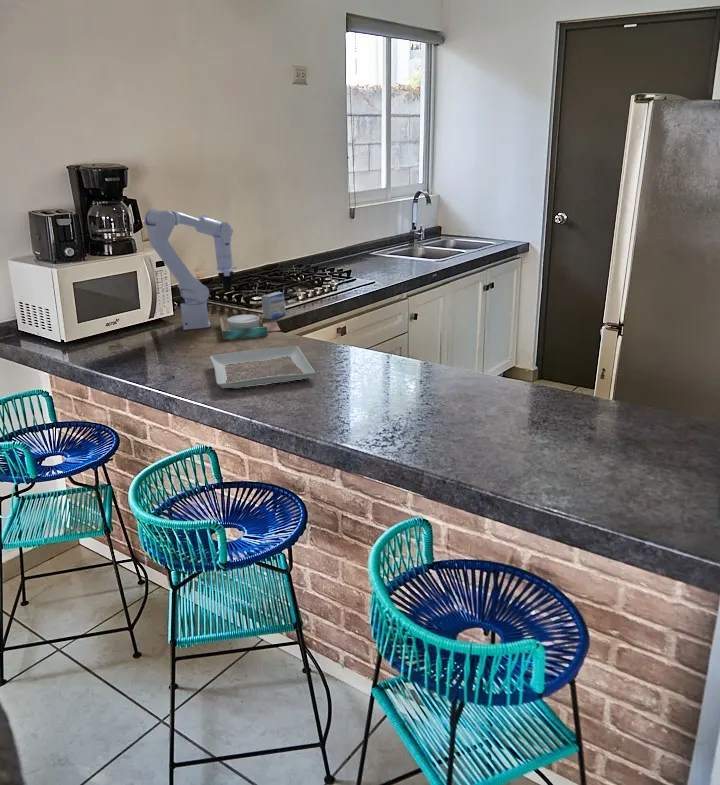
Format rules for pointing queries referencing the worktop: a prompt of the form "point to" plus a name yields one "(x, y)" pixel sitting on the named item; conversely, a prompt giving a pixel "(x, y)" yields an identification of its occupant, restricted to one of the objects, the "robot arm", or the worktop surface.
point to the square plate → (260, 355)
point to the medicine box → (273, 305)
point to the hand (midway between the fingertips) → (227, 291)
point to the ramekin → (243, 322)
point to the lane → (249, 330)
